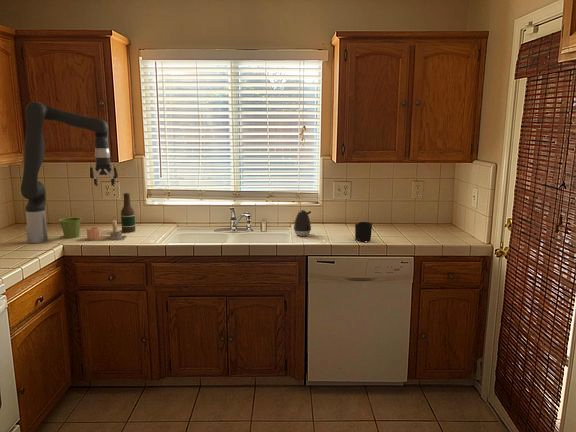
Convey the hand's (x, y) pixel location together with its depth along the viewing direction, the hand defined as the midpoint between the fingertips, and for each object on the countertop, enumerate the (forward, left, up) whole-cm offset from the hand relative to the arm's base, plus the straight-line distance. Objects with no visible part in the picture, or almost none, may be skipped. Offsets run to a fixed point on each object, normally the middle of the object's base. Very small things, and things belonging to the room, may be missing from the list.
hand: (104, 185), depth 256 cm
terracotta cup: (-6, -5, -29) cm, 30 cm away
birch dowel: (+5, -5, -29) cm, 30 cm away
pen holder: (+144, -21, -30) cm, 149 cm away
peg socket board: (0, -5, -30) cm, 31 cm away
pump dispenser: (+112, -5, -30) cm, 116 cm away
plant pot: (-20, +1, -30) cm, 36 cm away
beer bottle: (+9, +12, -30) cm, 34 cm away
